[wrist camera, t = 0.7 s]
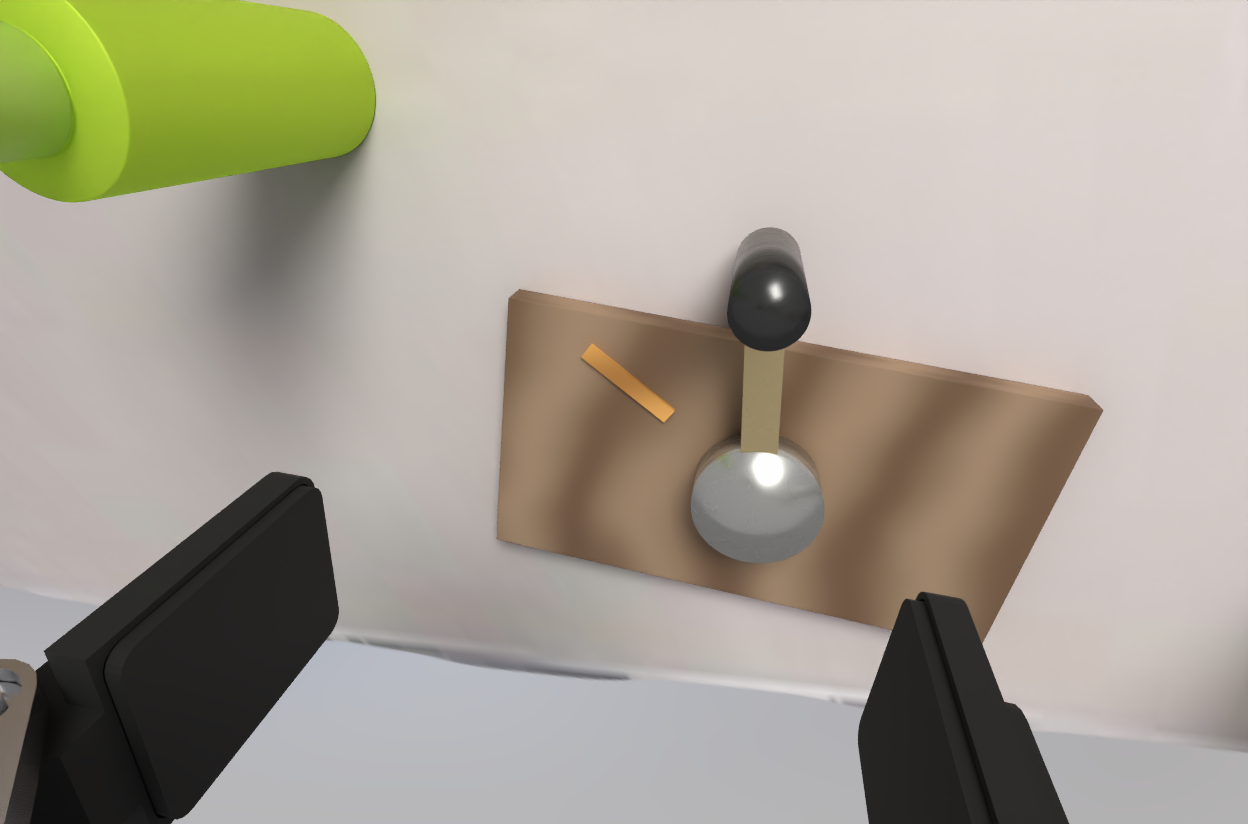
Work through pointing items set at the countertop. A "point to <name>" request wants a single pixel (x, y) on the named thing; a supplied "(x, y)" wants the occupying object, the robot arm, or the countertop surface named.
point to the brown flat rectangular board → (810, 417)
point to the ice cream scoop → (762, 418)
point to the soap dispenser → (171, 93)
